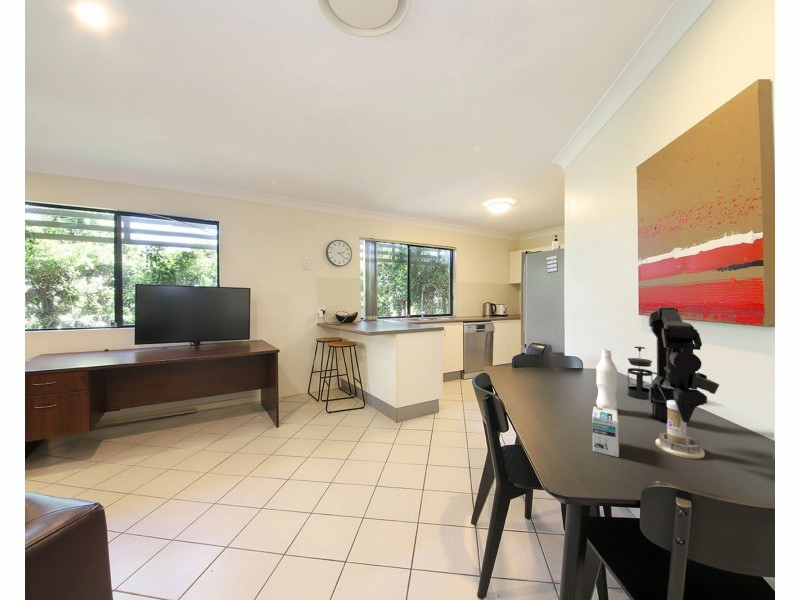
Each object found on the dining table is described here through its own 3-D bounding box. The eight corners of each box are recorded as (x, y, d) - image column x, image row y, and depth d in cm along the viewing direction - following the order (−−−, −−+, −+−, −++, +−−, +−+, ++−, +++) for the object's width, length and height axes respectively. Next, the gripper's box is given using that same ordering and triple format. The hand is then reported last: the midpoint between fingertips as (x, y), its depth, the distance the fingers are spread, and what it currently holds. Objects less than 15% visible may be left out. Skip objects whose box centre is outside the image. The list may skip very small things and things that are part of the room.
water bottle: (610, 407, 127) (610, 348, 126) (621, 414, 120) (621, 351, 119) (592, 407, 128) (592, 348, 127) (602, 413, 120) (602, 351, 120)
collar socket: (646, 441, 98) (646, 432, 98) (677, 439, 99) (677, 430, 99) (681, 460, 87) (681, 449, 87) (715, 457, 88) (715, 447, 88)
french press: (624, 396, 140) (624, 347, 139) (626, 391, 147) (626, 344, 146) (657, 402, 132) (657, 349, 131) (658, 396, 139) (658, 346, 138)
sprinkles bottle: (663, 442, 95) (662, 400, 94) (674, 440, 96) (673, 398, 95) (679, 450, 90) (679, 405, 90) (690, 448, 91) (690, 403, 91)
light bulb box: (619, 458, 88) (619, 421, 88) (592, 451, 92) (591, 416, 92) (618, 443, 97) (618, 409, 97) (593, 437, 101) (593, 405, 101)
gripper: (733, 375, 80) (733, 433, 80) (699, 361, 97) (699, 409, 97) (679, 372, 85) (679, 426, 85) (655, 358, 102) (655, 404, 102)
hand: (679, 416), depth 92 cm, fingers open, 9 cm apart
